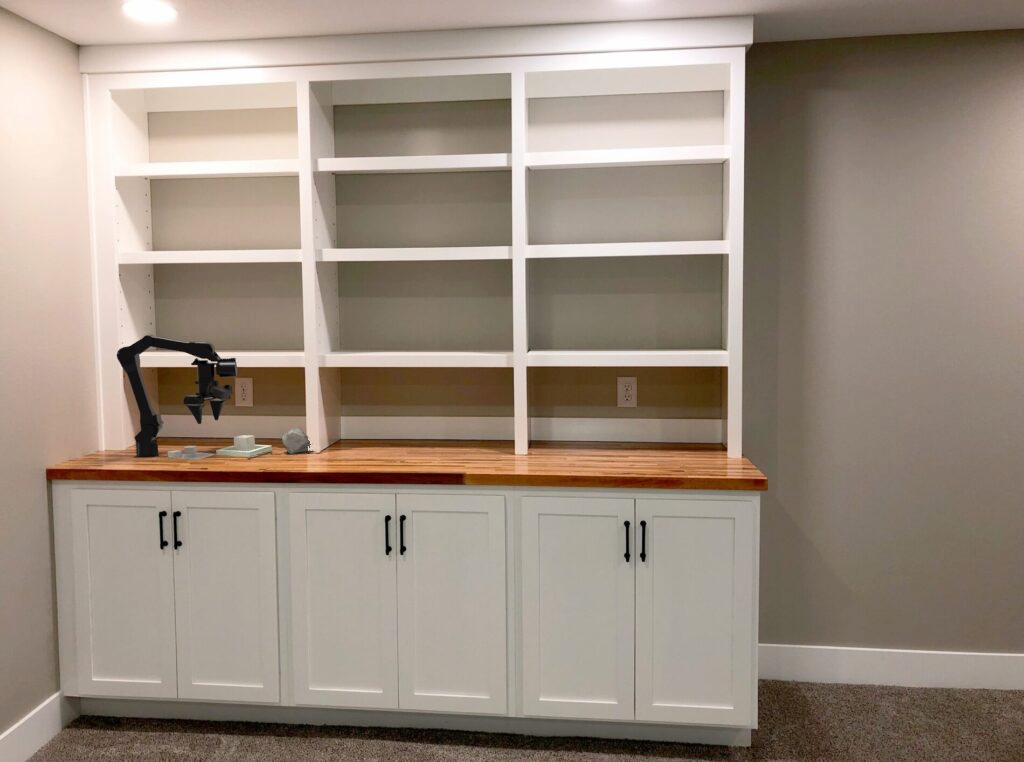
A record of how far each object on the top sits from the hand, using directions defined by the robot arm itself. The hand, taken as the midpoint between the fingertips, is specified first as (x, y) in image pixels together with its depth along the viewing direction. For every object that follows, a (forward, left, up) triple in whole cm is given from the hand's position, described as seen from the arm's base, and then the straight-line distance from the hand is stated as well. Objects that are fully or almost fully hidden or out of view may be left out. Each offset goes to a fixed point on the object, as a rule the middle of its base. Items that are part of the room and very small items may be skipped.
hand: (208, 422), depth 295 cm
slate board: (-2, -6, -12) cm, 14 cm away
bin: (+11, +5, -12) cm, 17 cm away
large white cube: (+11, +5, -11) cm, 17 cm away
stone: (+26, +14, -12) cm, 32 cm away
